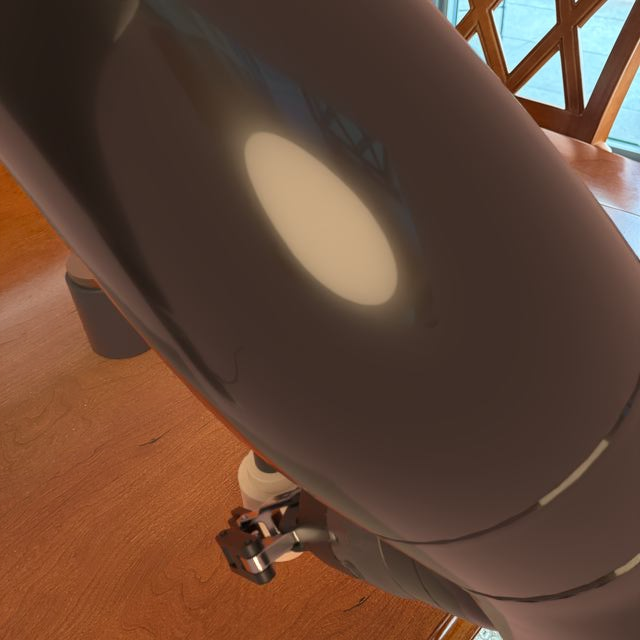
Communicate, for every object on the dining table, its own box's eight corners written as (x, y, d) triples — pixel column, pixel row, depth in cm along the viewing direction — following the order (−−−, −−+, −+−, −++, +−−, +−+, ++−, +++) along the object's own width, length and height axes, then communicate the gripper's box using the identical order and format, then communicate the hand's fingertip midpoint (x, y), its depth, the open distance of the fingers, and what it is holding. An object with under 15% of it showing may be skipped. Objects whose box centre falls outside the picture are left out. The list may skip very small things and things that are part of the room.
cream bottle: (272, 574, 50) (257, 488, 42) (238, 527, 54) (218, 438, 46) (326, 536, 53) (321, 448, 45) (289, 493, 56) (279, 404, 48)
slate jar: (106, 370, 69) (77, 292, 62) (79, 330, 75) (49, 254, 68) (176, 337, 73) (157, 260, 66) (146, 302, 79) (124, 227, 72)
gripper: (455, 388, 35) (337, 403, 49) (247, 525, 29) (182, 497, 43) (513, 502, 35) (378, 484, 50) (318, 664, 29) (229, 589, 43)
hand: (287, 490), depth 46 cm, fingers open, 8 cm apart
